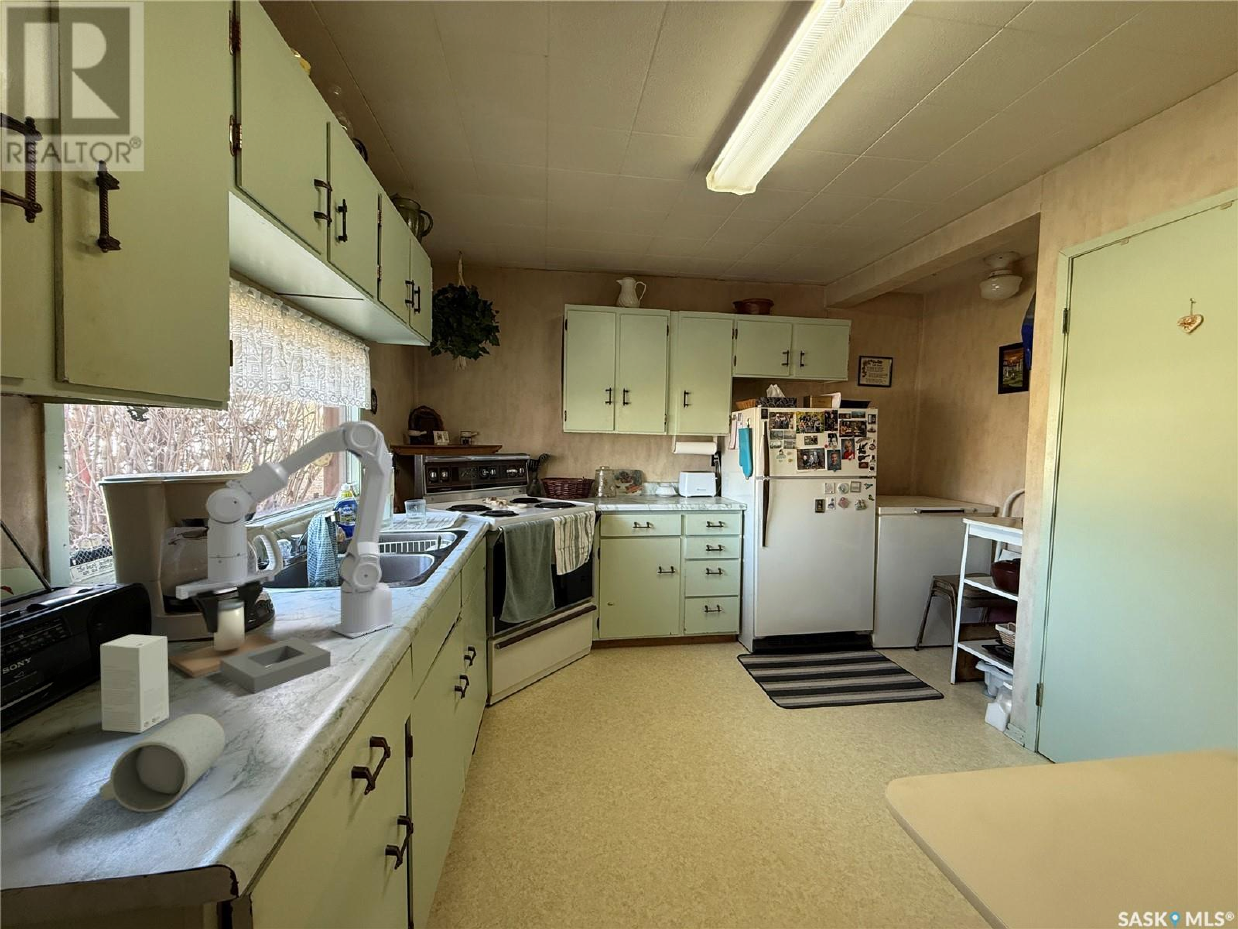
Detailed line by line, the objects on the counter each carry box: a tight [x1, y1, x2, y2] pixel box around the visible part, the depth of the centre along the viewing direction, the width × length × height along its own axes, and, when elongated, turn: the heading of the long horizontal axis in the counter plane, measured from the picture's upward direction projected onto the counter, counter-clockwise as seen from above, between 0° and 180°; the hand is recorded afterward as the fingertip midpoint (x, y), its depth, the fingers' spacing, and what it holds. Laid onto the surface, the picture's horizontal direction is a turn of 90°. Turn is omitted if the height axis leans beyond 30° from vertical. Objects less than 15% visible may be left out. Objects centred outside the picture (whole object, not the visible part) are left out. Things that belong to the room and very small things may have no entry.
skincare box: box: [99, 633, 170, 734], centre depth 71 cm, size 6×4×12 cm
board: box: [169, 632, 279, 678], centre depth 94 cm, size 14×10×1 cm
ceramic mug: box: [98, 712, 227, 813], centre depth 59 cm, size 11×8×8 cm
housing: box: [219, 636, 331, 694], centre depth 89 cm, size 12×12×2 cm
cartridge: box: [213, 598, 245, 650], centre depth 93 cm, size 5×5×8 cm
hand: (228, 627), depth 93 cm, fingers closed on cartridge, 4 cm apart
